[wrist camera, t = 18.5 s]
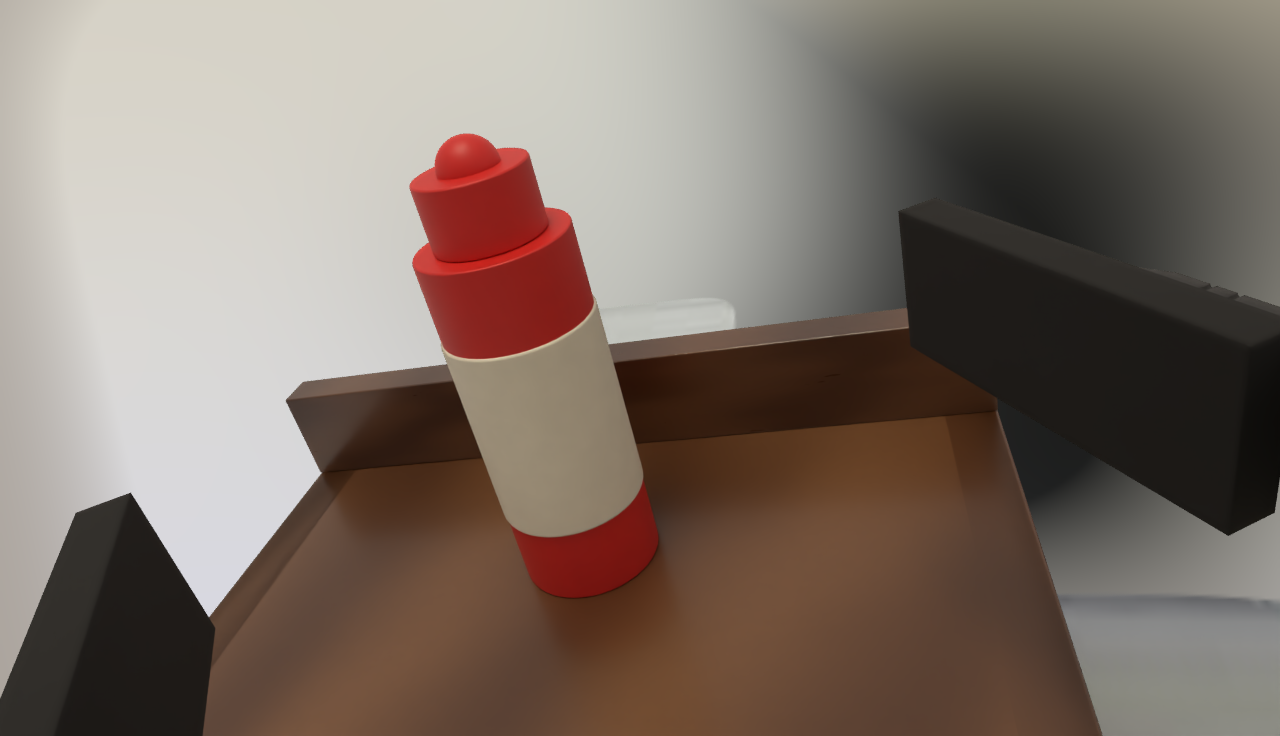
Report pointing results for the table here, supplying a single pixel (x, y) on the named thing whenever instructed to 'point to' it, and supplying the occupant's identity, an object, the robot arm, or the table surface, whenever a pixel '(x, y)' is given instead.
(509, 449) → the red cream bottle
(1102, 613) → the table surface
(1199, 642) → the table surface
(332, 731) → the shelf
